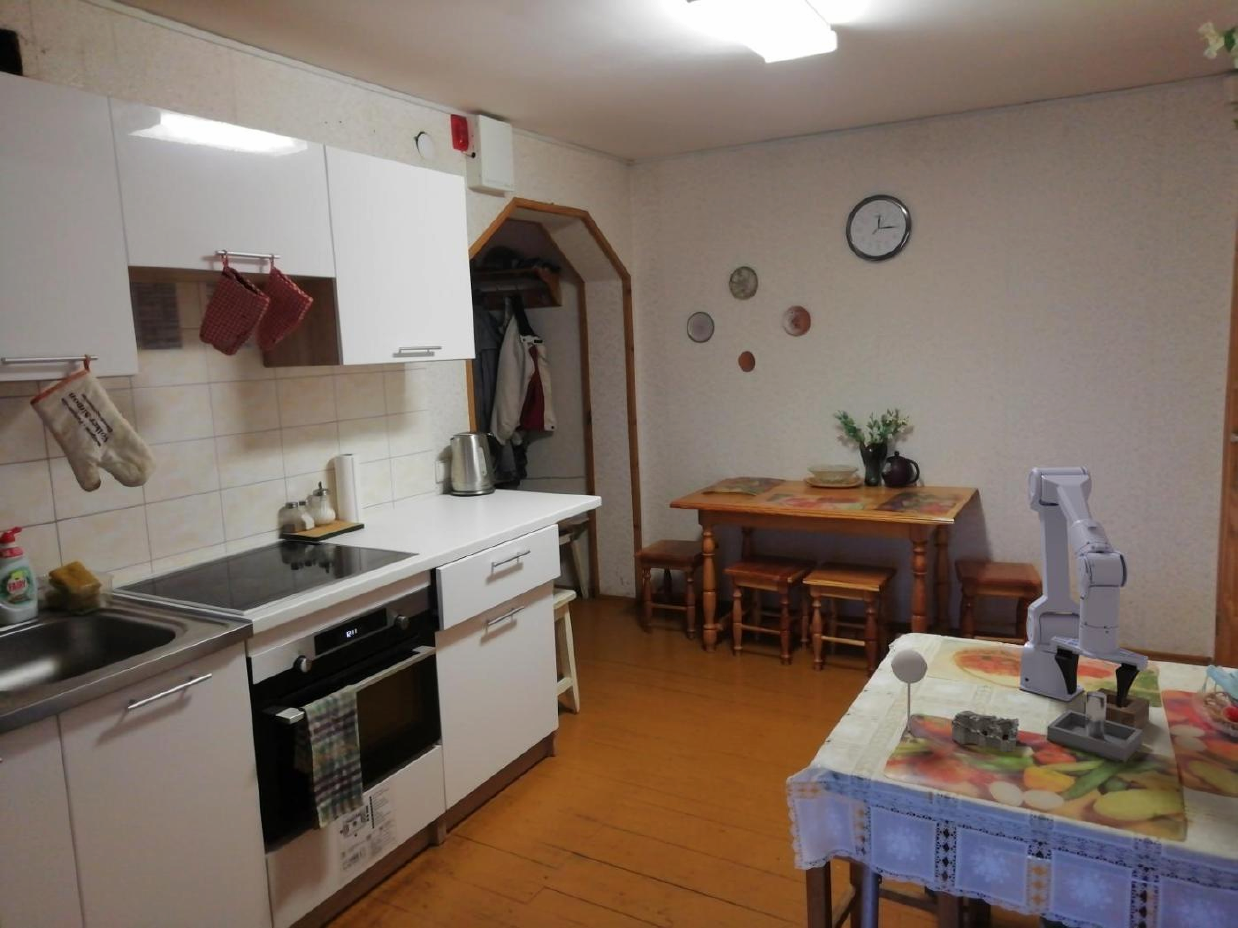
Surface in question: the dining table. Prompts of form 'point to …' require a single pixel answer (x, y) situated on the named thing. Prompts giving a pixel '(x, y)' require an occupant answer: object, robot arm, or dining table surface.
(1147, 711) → the holder
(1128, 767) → the dining table surface
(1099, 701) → the pin
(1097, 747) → the tray
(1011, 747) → the egg carton
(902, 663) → the lollipop
